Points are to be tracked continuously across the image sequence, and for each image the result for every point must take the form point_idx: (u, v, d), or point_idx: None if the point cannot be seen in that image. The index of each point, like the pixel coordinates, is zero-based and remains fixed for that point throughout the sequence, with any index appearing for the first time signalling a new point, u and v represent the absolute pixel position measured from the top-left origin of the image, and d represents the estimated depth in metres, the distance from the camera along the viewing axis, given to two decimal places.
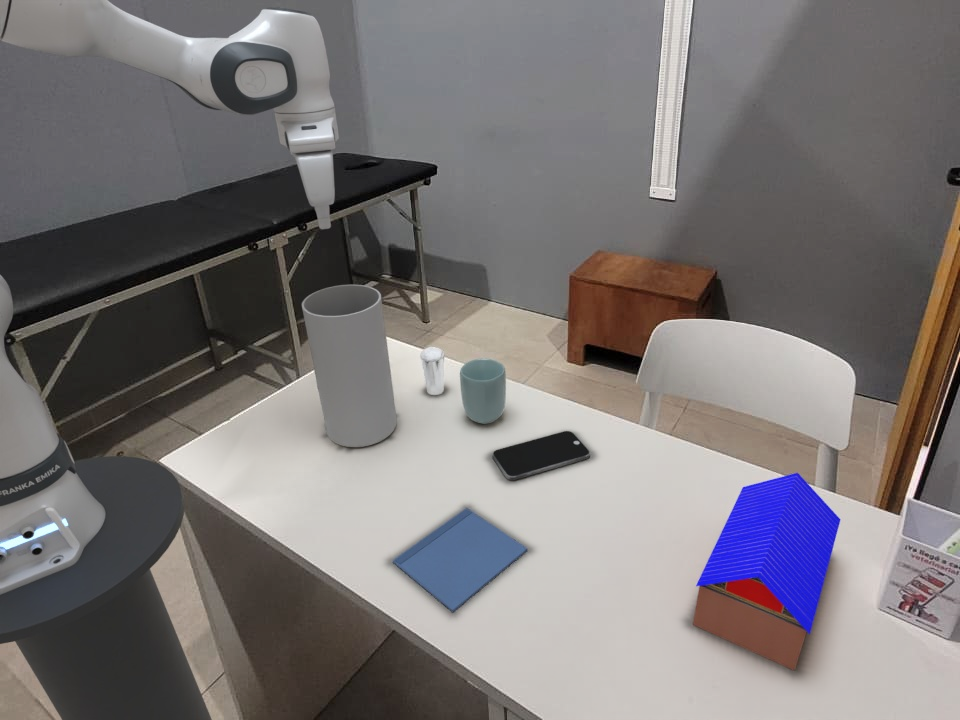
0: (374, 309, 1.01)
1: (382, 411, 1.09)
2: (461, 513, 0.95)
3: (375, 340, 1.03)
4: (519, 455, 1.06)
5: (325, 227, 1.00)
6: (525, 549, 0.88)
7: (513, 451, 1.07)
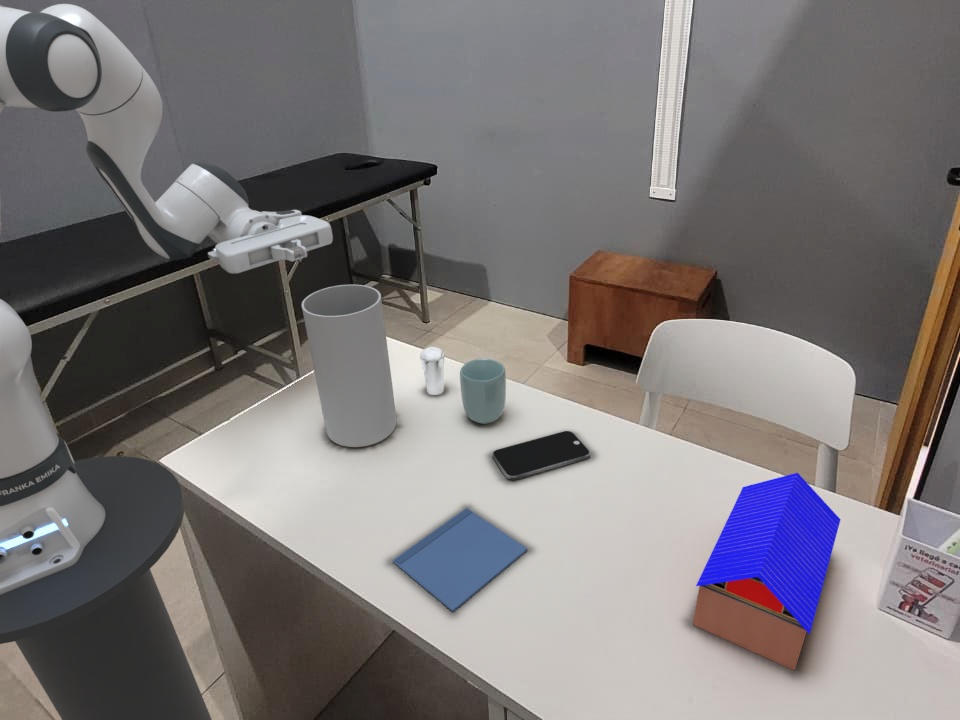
0: (374, 309, 1.01)
1: (382, 411, 1.09)
2: (461, 513, 0.95)
3: (375, 340, 1.03)
4: (519, 455, 1.06)
5: (306, 252, 1.09)
6: (525, 549, 0.88)
7: (513, 451, 1.07)
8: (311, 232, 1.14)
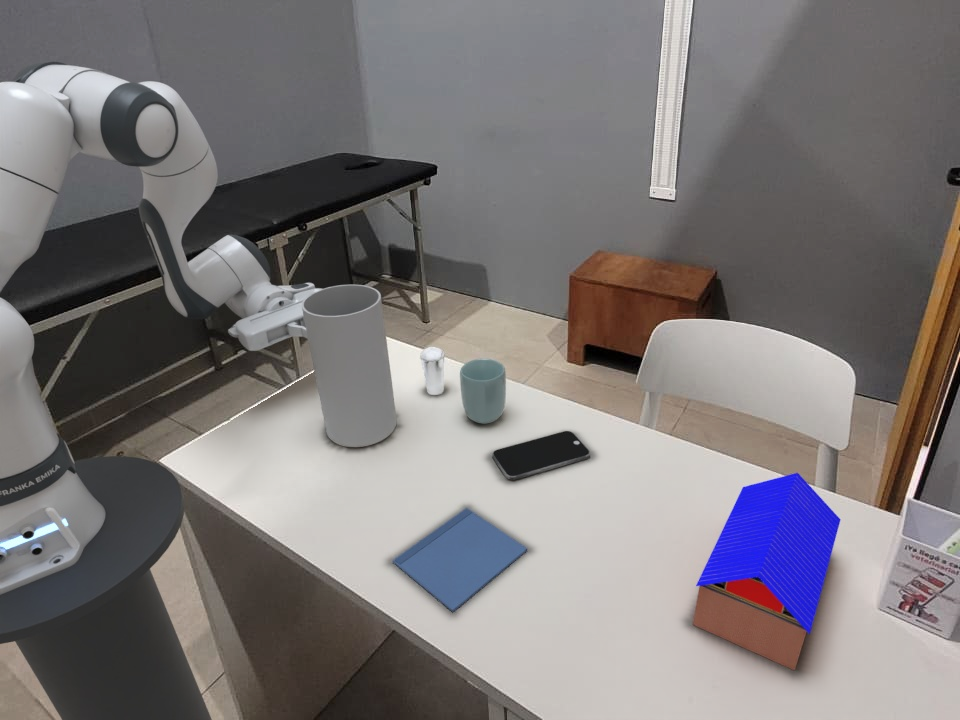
0: (374, 309, 1.01)
1: (382, 411, 1.09)
2: (461, 513, 0.95)
3: (375, 340, 1.03)
4: (519, 455, 1.06)
5: None
6: (525, 549, 0.88)
7: (513, 451, 1.07)
8: None
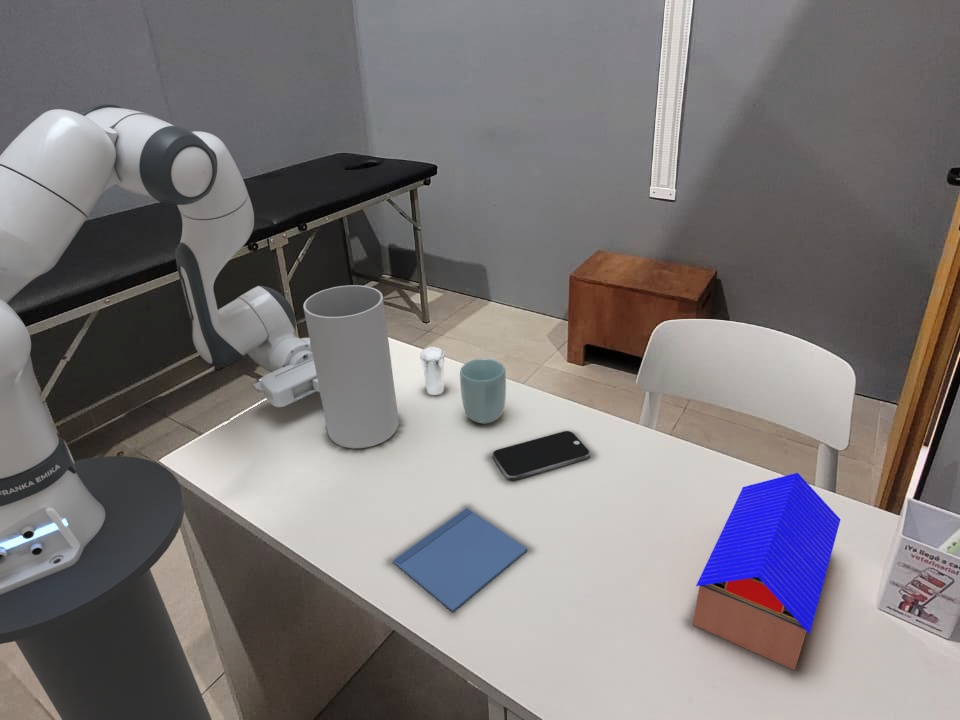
0: (376, 310, 1.01)
1: (383, 412, 1.09)
2: (461, 513, 0.95)
3: (376, 341, 1.03)
4: (519, 455, 1.06)
5: None
6: (525, 549, 0.88)
7: (513, 451, 1.07)
8: None
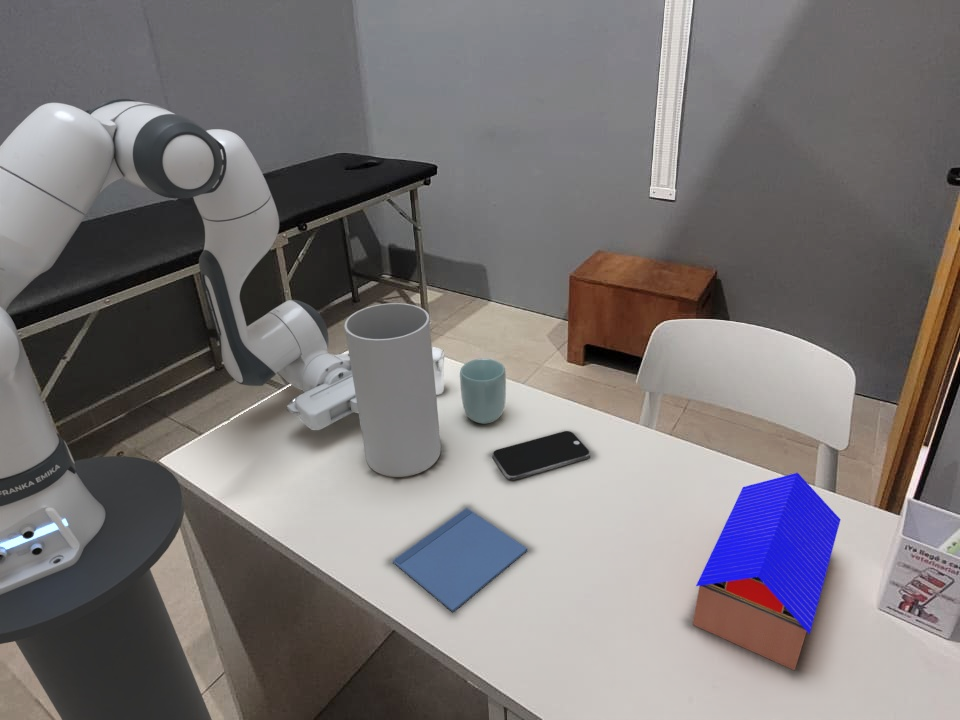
0: (421, 333, 0.94)
1: (425, 440, 1.02)
2: (461, 513, 0.95)
3: (421, 365, 0.95)
4: (519, 455, 1.06)
5: None
6: (525, 549, 0.88)
7: (513, 451, 1.07)
8: None
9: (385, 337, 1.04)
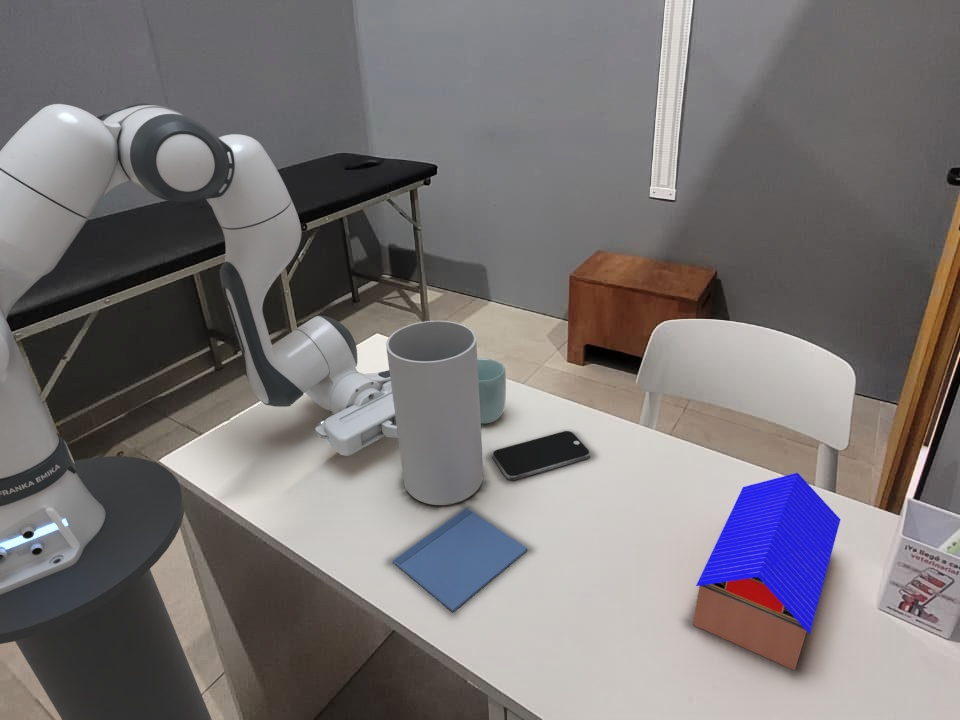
0: (469, 354, 0.87)
1: (470, 466, 0.95)
2: (461, 513, 0.95)
3: (468, 388, 0.89)
4: (519, 455, 1.06)
5: None
6: (525, 549, 0.88)
7: (513, 451, 1.07)
8: None
9: (426, 356, 0.98)
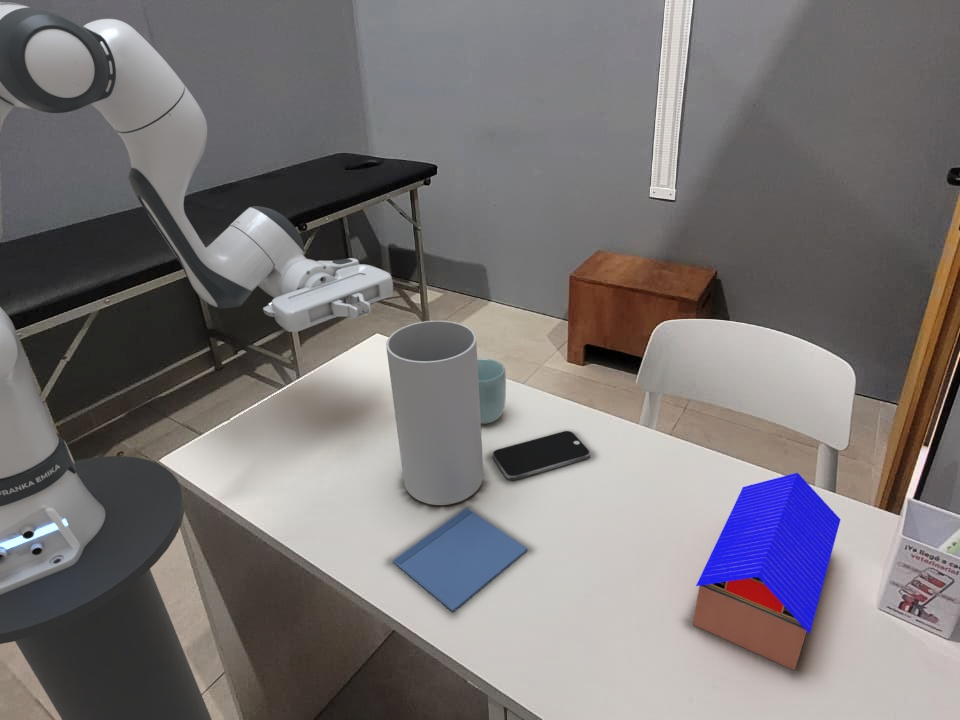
0: (469, 354, 0.87)
1: (470, 466, 0.95)
2: (461, 513, 0.95)
3: (468, 388, 0.89)
4: (519, 455, 1.06)
5: (369, 308, 1.01)
6: (525, 549, 0.88)
7: (513, 451, 1.07)
8: (372, 285, 1.06)
9: (426, 356, 0.98)
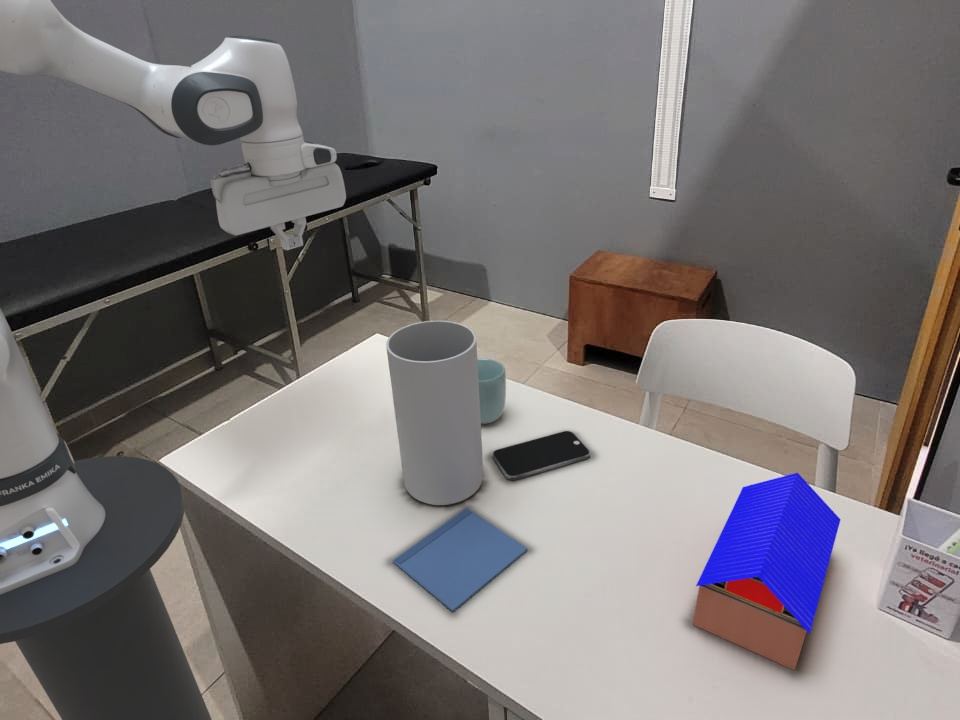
0: (469, 354, 0.87)
1: (470, 466, 0.95)
2: (461, 513, 0.95)
3: (468, 388, 0.89)
4: (519, 455, 1.06)
5: None
6: (525, 549, 0.88)
7: (513, 451, 1.07)
8: (322, 211, 1.02)
9: (426, 356, 0.98)
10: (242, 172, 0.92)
